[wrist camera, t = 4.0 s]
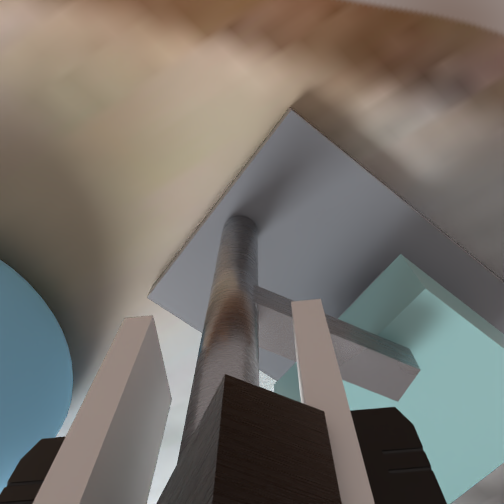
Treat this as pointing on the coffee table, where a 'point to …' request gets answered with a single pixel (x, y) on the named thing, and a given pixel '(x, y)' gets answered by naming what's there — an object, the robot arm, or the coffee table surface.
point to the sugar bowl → (29, 371)
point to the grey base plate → (320, 236)
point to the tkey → (265, 393)
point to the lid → (434, 373)
